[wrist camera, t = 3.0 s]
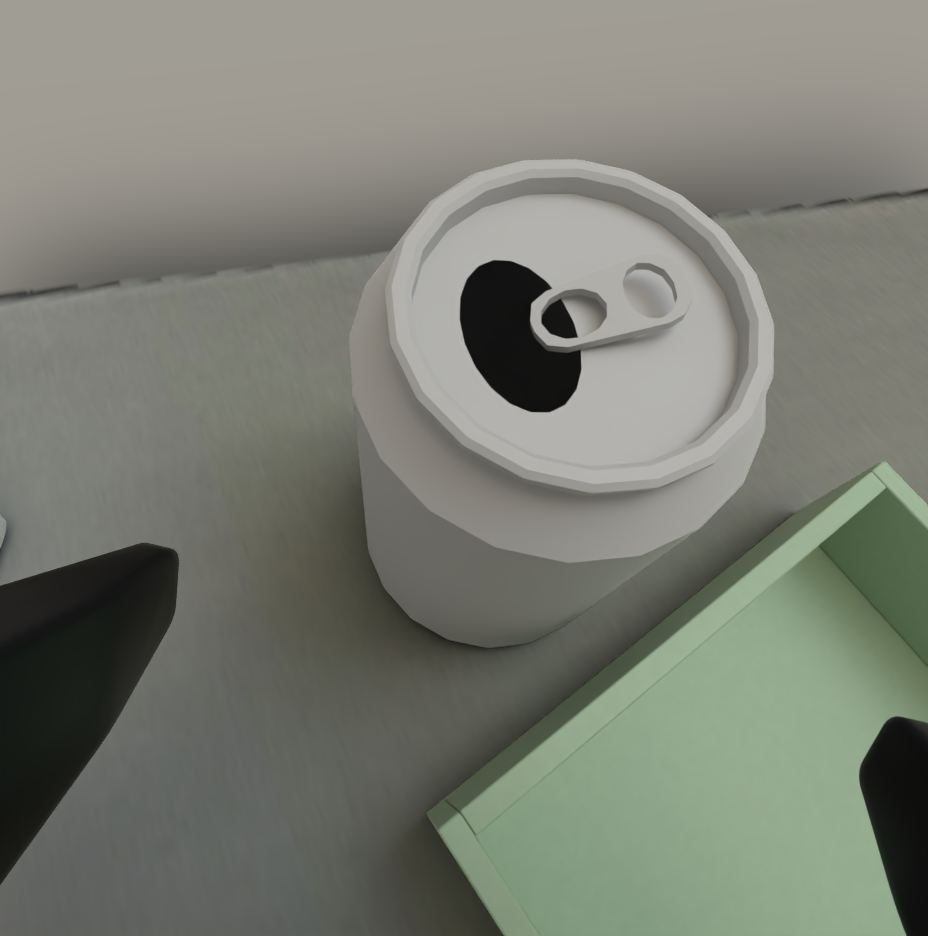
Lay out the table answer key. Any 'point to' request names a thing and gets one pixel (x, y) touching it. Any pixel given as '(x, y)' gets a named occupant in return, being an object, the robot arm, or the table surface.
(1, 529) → the photo printer
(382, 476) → the can
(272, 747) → the table surface
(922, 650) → the open box
